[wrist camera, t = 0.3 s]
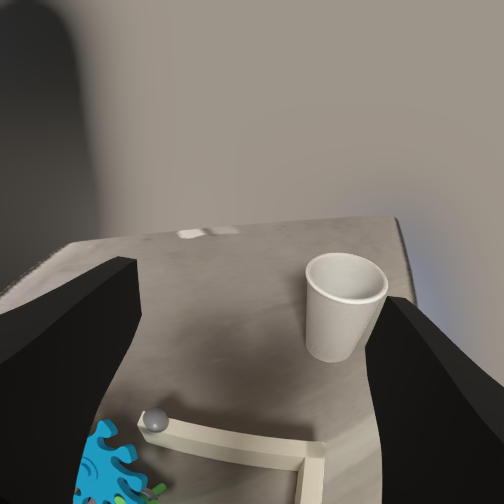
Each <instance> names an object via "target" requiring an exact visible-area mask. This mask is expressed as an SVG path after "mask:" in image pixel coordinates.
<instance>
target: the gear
mask: <svg viewBox="0 0 504 504" xmlns="http://www.w3.org/2000/svg"><path fill="white" fill-rule="evenodd" d="M117 433H118V430H117V428H116V426H115V425H114V424H113V422H112V421H111V420H110V419H106V420H102V421H99V423H98V425H97V429H96V432H95V433H94V434H93V435H90V434H89V435H88V438H87V442H86V445H85V449H84V452H83V456H82V460H81V463H80V468H79V472H78V477H77V481H76V486H77V487H78V488H79V489H80V491H81V492H80V491H78V492H76V493H74V498H73V501H74V502H75V504H87V503H88V499H89V497H91V498H93V499H94V500H95V501H96V502H97V504H107V502H108V501H109V502H110V503H111V504H161V503H160V502H159V501H158V499H157V496H158V495H160V494H161V493H162V492H164V491H165V490H166V489H167V488H166V486H165V485H164V484H163V483H160V484H159V485H157V486H156V487H154V488H153V489H151V490H150V489H149V488H147V487H146V486H147V482H148V477H147V476H146V475H144V474H142V473H135V472H132V471H130V470H128V469H126V468H125V467H123V466H122V465H121V464H120V462H125V463H131V462H133V461H135V460H137V459H138V456H137V452H136V450H135V447H134V445H132V444H126V445H124V446H121V447H119V448H118V449H116V448H111V447H108V446H107V445H106V444H105V443H104V439H103V438H109V437H112V436H115V435H116V434H117Z"/></svg>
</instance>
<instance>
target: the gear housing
mask: <svg viewBox="0 0 504 504" xmlns="http://www.w3.org/2000/svg"><path fill="white" fill-rule="evenodd" d="M137 426H138V427H139V429H140V431H141V433H142V435H143V436H144V438H145V440H146V442H148V443H151V444H155V445H158V446H162V447H165V448H169V449H173V450H176V451H180V452H184V453H188V454H193V455H197V456H201V457H206V458H211V459H215V460H220V461H226V462H231V463H237V464H243V465H249V466H256V467H264V468H272V469H281V470H291V471H298V478H297V487H296V495H295V503H294V504H321V501H322V489H323V475H324V460H325V442H313V441H300V440H290V439H280V438H272V437H264V436H257V435H250V434H244V433H238V432H232V431H226V430H221V429H216V428H211V427H206V426H201V425H196V424H192V423H188V422H183V421H179V420H175V419H171V418H167V415H166V413H165V412H164V411H163V410H162V409H159V408H151V409H149V410H147V411H143V413H142V415H141V417H140V419H139V422H138V424H137Z"/></svg>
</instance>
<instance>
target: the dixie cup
mask: <svg viewBox="0 0 504 504" xmlns="http://www.w3.org/2000/svg"><path fill="white" fill-rule="evenodd" d="M305 273H306V278H307V315H306V348H307V350H308V352H309V353H310V354H311V355H312V356H313V357H315V358H316V359H318V360H320V361H323V362H328V363H337V362H341V361H344V360H345V359H347V358H348V357H349V356H350V355H351V353H352V351H353V350H354V348H355V346H356V344H357V342H358V341H359V339H360V337H361V335H362V333H363V332H364V330H365V328H366V326H367V324H368V322H369V320H370V318H371V317H372V315H373V313H374V311H375V309H376V307H377V305H378V303H379V301H380V299H381V298H382V297H383V296H384V295H385V293H386V291H387V289H388V281H387V278H386V276H385V274H384V273H383V271H382V270H381V269H380V268H379V267H378V266H377V265H375V264H374V263H372V262H371V261H369V260H367V259H365V258H362V257H360V256H356V255H353V254H347V253H328V254H323V255H320V256H318V257H316V258H314V259H313V260H311V261H310V262H309V264H308V265H307V267H306V272H305Z"/></svg>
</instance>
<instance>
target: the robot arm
mask: <svg viewBox="0 0 504 504" xmlns="http://www.w3.org/2000/svg"><path fill="white" fill-rule="evenodd" d="M141 316H142V312H141V303H140V293H139V282H138V270H137V259H131V258H125V257H120V256H118V257H115V258H113V259H110V260H108V261H106V262H104V263H102V264H100V265H98V266H97V267H95V268H93V269H91V270H89V271H87V272H85V273H84V274H82V275H80V276H78V277H76V278H74V279H73V280H71V281H69V282H67V283H65V284H63V285H62V286H60V287H58V288H56V289H54V290H52V291H50V292H48V293H46V294H44V295H42V296H40V297H38V298H36V299H34V300H32V301H30V302H28V303H26V304H24V305H22V306H20V307H17V308H15V309H13V310H10V311H8V312H6V313H3V314H1V315H0V504H73V498H74V491H75V486H76V481H77V477H78V472H79V468H80V463H81V460H82V456H83V452H84V449H85V445H86V442H87V438H88V435H89V432H90V429H91V426H92V423H93V420H94V418H95V415H96V412H97V410H98V407H99V405H100V403H101V400H102V398H103V396H104V394H105V393H106V391H107V389H108V387H109V385H110V383H111V381H112V379H113V377H114V375H115V373H116V371H117V369H118V368H119V366H120V364H121V362H122V360H123V358H124V356H125V354H126V352H127V350H128V348H129V347H130V345H131V343H132V340H133V337H134V335H135V332H136V330H137V327H138V324H139V321H140V319H141ZM365 354H366V367H367V377H368V382H369V387H370V391H371V396H372V401H373V406H374V411H375V416H376V421H377V426H378V431H379V436H380V443H381V451H382V504H504V387H503V386H501V385H500V384H499V383H498V382H497V381H495V380H494V379H492V377H490V376H489V375H488V374H487V373H486V372H484V371H483V370H482V369H481V368H480V367H479V366H478V365H476V364H475V363H474V362H473V361H472V360H471V359H470V358H469V357H468V356H467V355H466V354H465V353H463V352H462V351H461V350H460V349H459V348H458V347H457V346H456V345H455V344H454V343H453V342H452V341H451V340H450V339H449V338H448V337H447V336H446V335H445V334H444V333H443V332H442V331H441V330H440V329H439V328H438V327H437V326H436V325H435V324H434V323H433V322H432V321H431V320H429V318H428V317H426V316H425V315H424V314H423V313H422V312H421V311H420V310H419V309H418V308H417V307H416V306H415V305H413V304H412V303H411V302H410V301H408V300H407V299H406V298H400V297H392V296H387V298H386V300H385V303H384V305H383V308H382V310H381V312H380V315H379V317H378V319H377V322H376V324H375V326H374V328H373V331H372V333H371V335H370V337H369V340H368V342H367V344H366V346H365Z"/></svg>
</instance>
